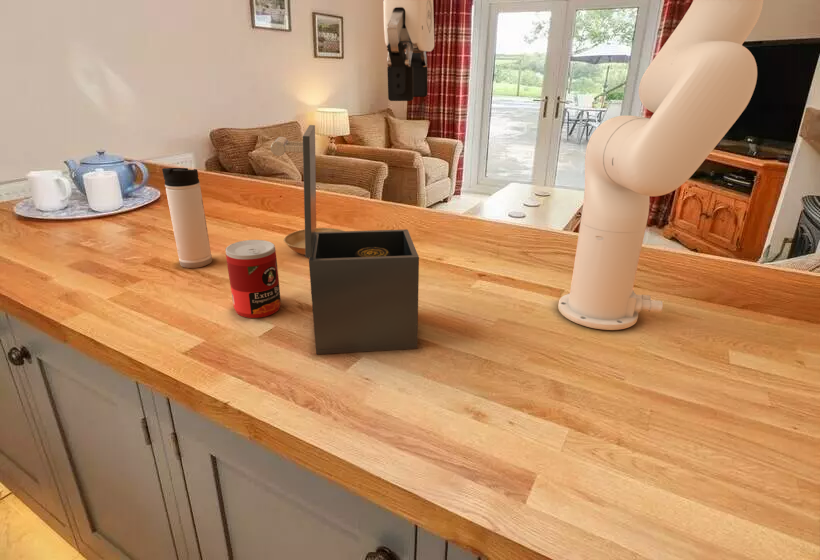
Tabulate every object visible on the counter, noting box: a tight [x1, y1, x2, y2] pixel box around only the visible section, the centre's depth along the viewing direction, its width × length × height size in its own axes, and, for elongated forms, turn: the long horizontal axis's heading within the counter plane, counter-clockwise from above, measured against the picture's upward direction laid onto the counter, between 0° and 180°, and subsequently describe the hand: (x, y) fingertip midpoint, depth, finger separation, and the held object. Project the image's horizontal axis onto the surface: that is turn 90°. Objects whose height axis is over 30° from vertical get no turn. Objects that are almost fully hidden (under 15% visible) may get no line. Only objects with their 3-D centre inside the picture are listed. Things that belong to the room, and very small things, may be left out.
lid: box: [270, 124, 317, 258], centre depth 67 cm, size 15×13×5 cm
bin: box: [308, 229, 420, 355], centre depth 74 cm, size 15×13×14 cm
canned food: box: [225, 239, 282, 319], centre depth 81 cm, size 8×8×11 cm
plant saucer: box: [283, 227, 344, 256], centre depth 111 cm, size 15×15×3 cm
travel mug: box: [161, 167, 213, 269], centre depth 98 cm, size 6×7×20 cm
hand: (409, 98), depth 67 cm, fingers open, 9 cm apart
